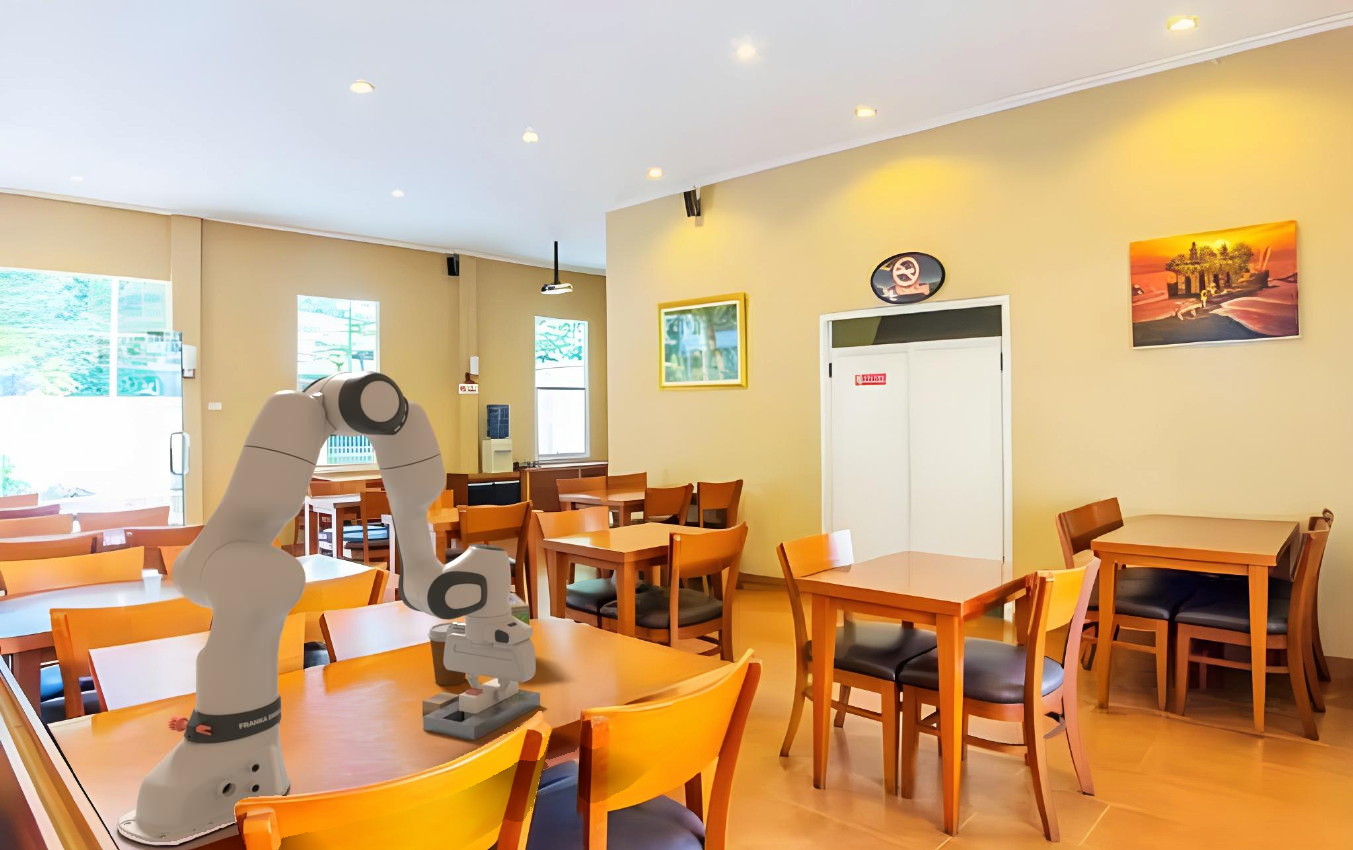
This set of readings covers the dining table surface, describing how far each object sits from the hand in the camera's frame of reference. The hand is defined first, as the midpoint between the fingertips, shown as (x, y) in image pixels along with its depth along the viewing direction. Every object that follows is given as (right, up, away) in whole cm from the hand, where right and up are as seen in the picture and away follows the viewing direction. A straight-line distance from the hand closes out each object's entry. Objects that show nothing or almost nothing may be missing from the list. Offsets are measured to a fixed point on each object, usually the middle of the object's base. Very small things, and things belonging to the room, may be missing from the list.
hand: (488, 697), depth 155 cm
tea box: (-5, -4, +35) cm, 36 cm away
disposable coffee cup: (-13, -4, +21) cm, 25 cm away
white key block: (0, -1, 0) cm, 1 cm away
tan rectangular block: (-10, -3, +1) cm, 10 cm away
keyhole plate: (-1, -3, -1) cm, 4 cm away
